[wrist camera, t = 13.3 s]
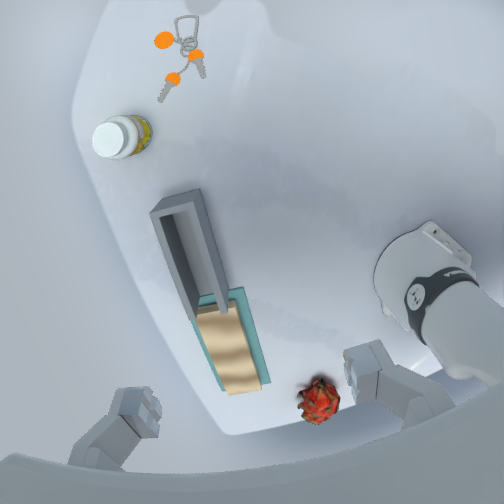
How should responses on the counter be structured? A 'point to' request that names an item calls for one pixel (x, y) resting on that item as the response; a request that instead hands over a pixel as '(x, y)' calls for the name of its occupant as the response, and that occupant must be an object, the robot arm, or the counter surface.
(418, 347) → the counter surface
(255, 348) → the teal mat
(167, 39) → the key chain
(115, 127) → the supplement bottle
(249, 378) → the oak lid
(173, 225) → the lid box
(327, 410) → the dragon fruit
